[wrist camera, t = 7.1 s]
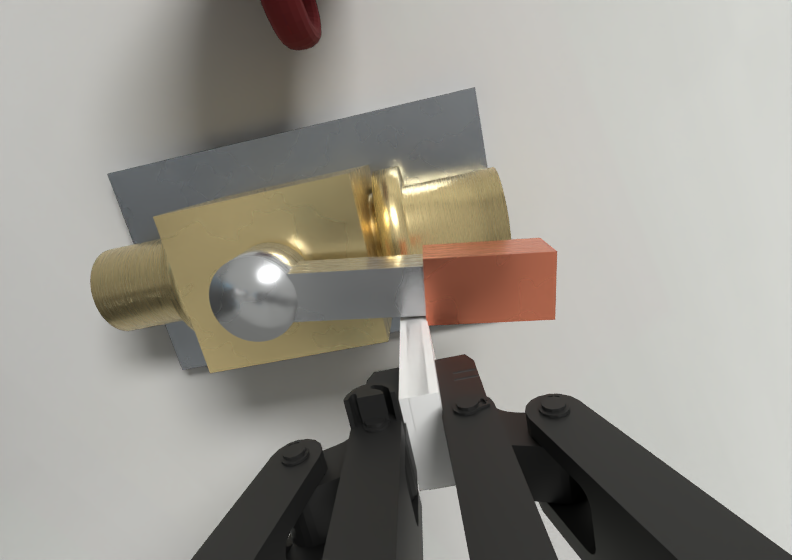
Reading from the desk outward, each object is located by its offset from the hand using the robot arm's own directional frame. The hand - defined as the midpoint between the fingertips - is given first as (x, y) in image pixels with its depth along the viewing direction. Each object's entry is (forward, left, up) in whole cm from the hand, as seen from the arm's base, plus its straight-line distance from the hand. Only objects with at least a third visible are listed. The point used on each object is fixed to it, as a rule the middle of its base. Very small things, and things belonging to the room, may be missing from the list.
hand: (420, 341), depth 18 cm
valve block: (-5, +3, -9) cm, 11 cm away
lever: (-1, +3, -1) cm, 3 cm away
